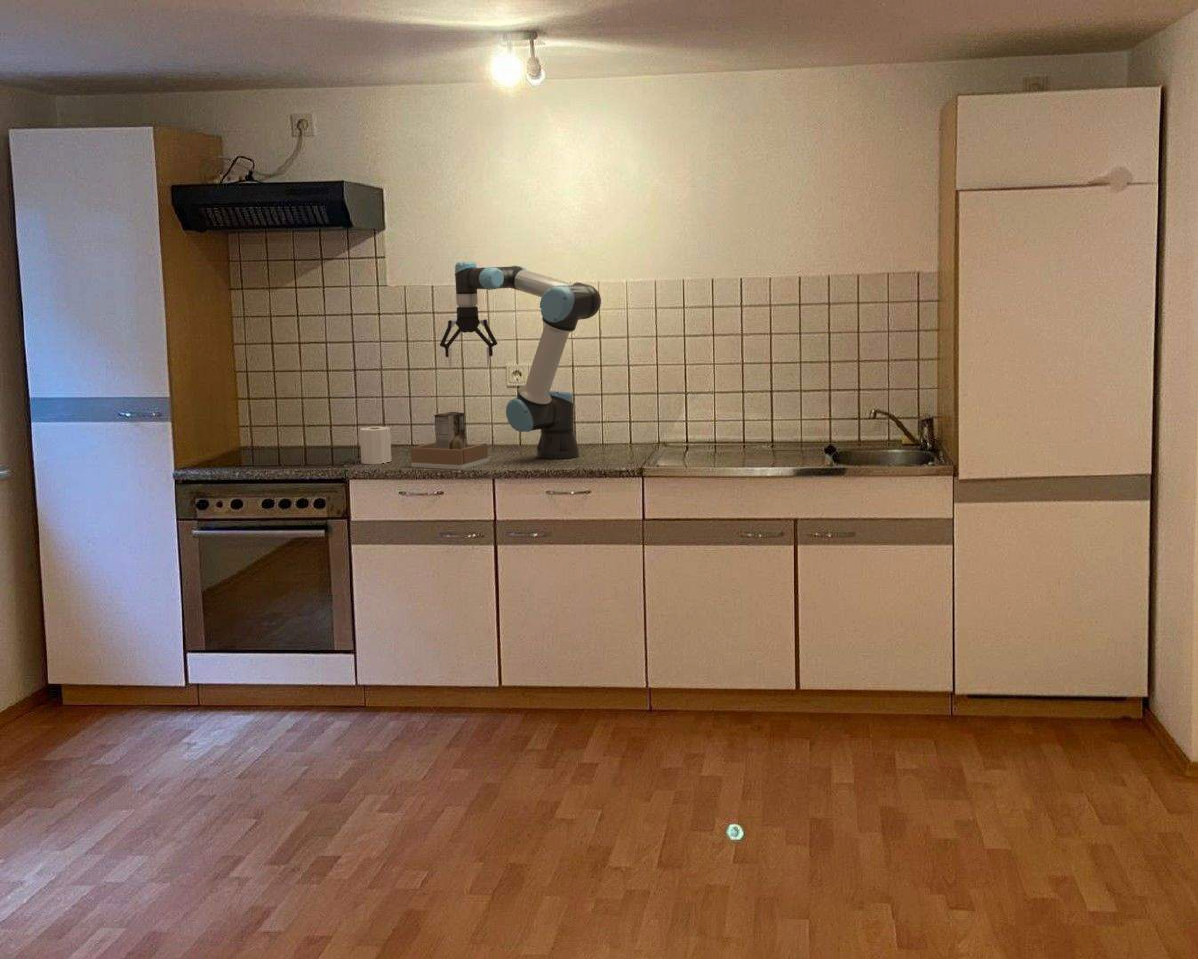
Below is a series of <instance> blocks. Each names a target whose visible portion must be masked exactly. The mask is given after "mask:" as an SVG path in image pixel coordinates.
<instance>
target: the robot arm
mask: <svg viewBox="0 0 1198 959" xmlns="http://www.w3.org/2000/svg"><path fill="white" fill-rule="evenodd" d="M454 267H455V268H454V278H455V281H454V282H455V298H456V299H455V300H456V301H455V302H456V306H457V307H456V320H451V319H450V320H448V321H447V328H446V331H445V332H444V335H443V337H442V339H441V341H440V343H439V346H440V347H442V348H444V350H445V352H444V353H445V355H444V356H445V358H448V367H449V368H450V367H451V368H452V367H453V358H452V356H453V355H452V347H450V346H451V345H452V344H453V342H454V341H455V340H456V339H457V337H458V336H459V335H460V334H461V333H474V332H475V334H477V335H478V337H479V338H480V339H482V341H483V342H484V343H485V344H486V345H487V347H486V349H485V350H486V366H487V367H490V366H491V358H490V357H493V355H494V354H493V353H494V352H493V347H494V346H497V345H498V341H497V339H496V337H495V336H494V333H493V332H492V330H491V328H490V326H489V323H488V319H486V318H485V319H479V308H478V306H477V305H478V304H479V303H478V302H479V301H478V300H479V299H478V290H489V291H490V290H498V289H513V290H516V291H520V292H523V293H525V294H526V293H527V294H530V295H533V296H536V297H539V298H540V302H539V308H540V314H541V316H542V319H541V321H542V322H543V323H544V327H543V330H542V332H541V336H540V339H539V342H538V345H537V348H536V352H535V354H534V356H533V360H532V363H531V366H530V370H529V372H528V376H527V379H526V382H525V384H524V385H523V386H521V387H520V388H519V389H518V391H517V395H516V397H515V398H512V399H510V400H509V401H508V403H507V404H506V408H505V416H506V419H507V422H508V424H509V425H510V427H511V428H512V429H513V430H515V431H516V432H519V433H523V432H526V433H528V432H531V431H538V430H540V436H539V440H538V445H537V447H536V457H537V458H540V459H544V460H545V459H546V460H549V459H550V460H559V459H561V460H562V459H573V458H576V457H580V447H579V444H578V441H577V439H576V437H575V436H576V435H575V428H574V426H575V425H574V424H575V422H574V417H575V416H574V406H575V405H574V401H573V399H574V398H573V394H572V393H571V392H569V391H559V390H558V391H555V390H551V389H552V385H553V382H554V380H555V376H556V373H557V370H558V368H559V364H560V361H561V358H562V355H563V352H564V350H565V347H566V343H567V341H568V338H569V335H570V333H573V332H574V331H576V328H577V325H578V322H579V321H581V320H587V319H590V318H592V317H593V316H595V315H596V314H597V313H598V312H599V311H600V308H601V305H602V297H601V294H600V293H599V291H598V289H596V287H594V286H593V285H591V284H590V285H589V284H587V283H582V282H578V281H576V282H573V283H572V282H568V281H564V280H562V279H558V278H553V277H551V276H547V275H544V274H541V273H537V272H533V271H529V270H527V268H526V267H524V266H521V265H520V266H519V265H512V266H496V267H495V266H490V267H477V263H476V262H474V261H462V262H461V261H460V262H459V261H458V262H456V263H455V265H454ZM480 324H481V326H483V327H484V329H485V331H486V333H487V335H488V337H489V338H490V340H489V339H488V338H487V337H486V336H485V335H484V334H483V332H482V331H481V330H480V328H479V325H480ZM455 325H456V326H457V327H458V328H457V329H456V331H455V332H454V333H453V335H452V336H451V338H450V339H449V340H448V342H447V339H448V337H449V334H450V333H451V330H452V328H453V327H454V326H455ZM446 342H447V343H446Z"/></svg>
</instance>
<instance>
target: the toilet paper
mask: <svg viewBox="0 0 1198 959" xmlns="http://www.w3.org/2000/svg"><path fill="white" fill-rule="evenodd" d="M359 438H360V439H359V440H360V441H359V442H360V458H361V459H360V460H361V464H364V465H382V463H384V464H388V463H387V462H390V461H391V462H392V444H391V428H390V427H389V426H368V427H361V428H360V429H359ZM391 462H390V463H391Z"/></svg>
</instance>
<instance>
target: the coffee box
mask: <svg viewBox="0 0 1198 959" xmlns="http://www.w3.org/2000/svg"><path fill="white" fill-rule="evenodd" d="M434 429H435V430H434V432H435V442H436V449H456V450H460V449H464V448H467V446H466V445H467V444H466V443H467V442H466V427H465V412H459V411H449V412H448V411H447V412H442V413H438V414H434Z"/></svg>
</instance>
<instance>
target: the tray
mask: <svg viewBox="0 0 1198 959" xmlns="http://www.w3.org/2000/svg"><path fill="white" fill-rule="evenodd" d="M410 460H411V461H410V462H411V465H410V467H412V468H425V469H441V470H443V469H445V470H446V469H447V470H465V469H468V468H471V467H472V468H473V467H475V466H480V465H483V464H487V463H490V458H489V457H488V443H485V442H483V443H480V444H475V445H472V446H466V448H464V449H460V450H456V449H436V441H434V442H430V443H426V444H421V445H417V446H414V447H413V446H412V447H410Z"/></svg>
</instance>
